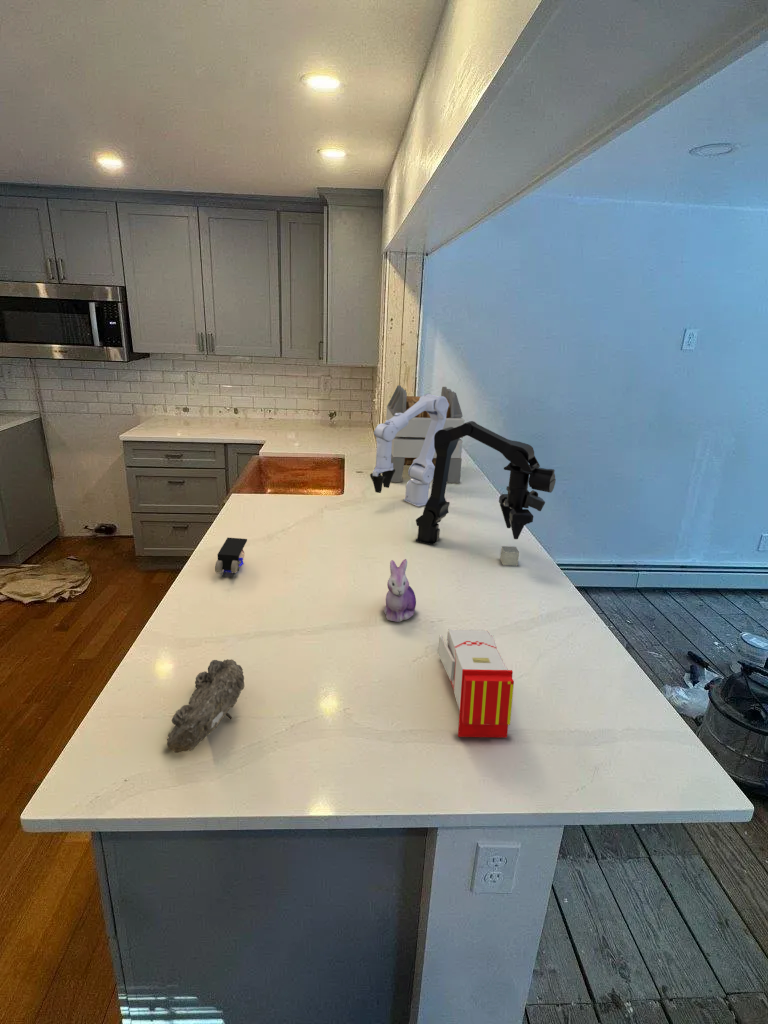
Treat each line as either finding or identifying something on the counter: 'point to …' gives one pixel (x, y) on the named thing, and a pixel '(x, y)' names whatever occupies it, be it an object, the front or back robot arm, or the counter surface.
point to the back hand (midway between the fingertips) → (382, 489)
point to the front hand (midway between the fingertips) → (512, 533)
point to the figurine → (399, 594)
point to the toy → (478, 682)
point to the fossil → (206, 705)
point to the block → (509, 556)
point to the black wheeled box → (230, 556)
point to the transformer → (421, 433)
